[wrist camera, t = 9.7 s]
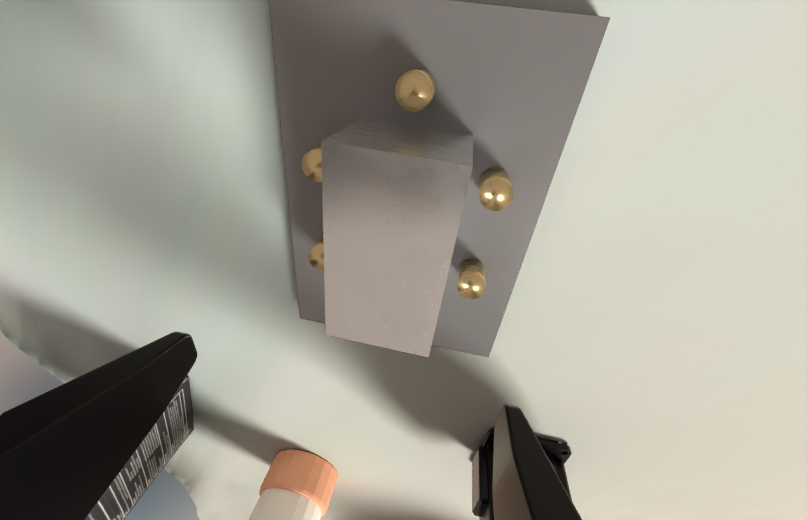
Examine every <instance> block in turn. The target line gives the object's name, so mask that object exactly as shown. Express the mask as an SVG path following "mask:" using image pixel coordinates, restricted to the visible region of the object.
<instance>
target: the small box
mask: <svg viewBox="0 0 808 520" xmlns="http://www.w3.org/2000/svg"><path fill="white" fill-rule="evenodd" d="M193 430H194V426H193V415H192V405H191V395H190V385H189V378H188V377H186V378H185V379H184V381H183V383H182V384H181V386H180V388H179V389H178V391H177V392H176V394H175V396H174V397H173V399H172V401H171V402H170V404H169V405H168V407H167V409H166V410H165V412H164V413H163V414H162V416H161V417H160V419H159V420H158V421H157V423H156V424H155V425H154V427H153V428H152V429H151V431H150V432H149V434H148V435H147V436H146V438H145V439H144V440H143V442H142V443H141V444H140V446H139V447H138V448H137V450H136V451H135V453H134V454H133V455H132V457H131V458H130V459H129V461H128V462H127V463H126V465H125V466H124V467H123V469H122V470H121V471H120V473H119V474H118V476H117V477H116V478H115V480H114V481H113V482H112V484H111V485H110V486H109V488H108V489H107V490H106V492H105V493H104V495H103V496H102V497H101V499H100V500H99V501H98V503H97V504H96V505H95V507H94V508H93V509H92V511H91V512H90V513H89V515H88V516H87V518H86V519H85V520H124V519H125V518H126V516H127V515H128V514H129V512H130V511H131V510H132V508H133V507H134V505H135V504H136V503H137V501H138V500H139V499H140V498H141V496H142V495H143V494H144V492H145V491H146V490H147V489H148V487H149V486H150V485H151V483H152V482H153V481H154V480H155V478H156V477H157V476H158V474H159V473H160V472H161V470H162V469H163V468H164V467H165V465H166V464H167V463H168V461H169V460H170V459H171V457H172V456H173V455H174V454H175V452H176V451H177V450H178V448H179V447H180V446H181V445H182V443H183V442H184V441H185V440H186V438H187V437H188V436H189V435H190V434H191V432H192V431H193Z"/></svg>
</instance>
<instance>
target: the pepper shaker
mask: <svg viewBox="0 0 808 520" xmlns="http://www.w3.org/2000/svg"><path fill="white" fill-rule="evenodd" d="M336 480H337V472H336V470H335V469H334V467H333V466H332V465H331V464H329V463H328V462H327V461H326V460H324V459H322V458H320V457H319V456H317V455H314V454H311V453H309V452H305V451H300V450H284V451H280V452H279V453H278V454H277V455H276V457H275V459H274V461H273V463H272V465H271V467H270V469H269V471H268V473H267V475H266V477H265V479H264V481H263V483H262V485H261V488H260V493H259V494H260V498H259V500H258V502H257V504H256V506H255V508H254V510H253V512H252V514H251V516H250V518H249V520H320V518H321V517H323V516H324V515H325V513H326V511H327V508H328V505H329V502H330V499H331V496H332V493H333V489H334V486H335V483H336Z"/></svg>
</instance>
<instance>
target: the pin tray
mask: <svg viewBox="0 0 808 520" xmlns="http://www.w3.org/2000/svg"><path fill="white" fill-rule="evenodd" d="M269 7H270V17H271V28H272V38H273V48H274V58H275V69H276V79H277V89H278V100H279V110H280V120H281V130H282V141H283V151H284V161H285V171H286V182H287V192H288V202H289V212H290V223H291V233H292V243H293V253H294V264H295V274H296V284H297V294H298V305H299V315H300V318H301V319H306V320H311V321H316V322H321V323H325V284H324V242H323V199H322V156H321V141H322V140H324V139H326V138H328V137H329V136H331V135H333V134H335V133H336V132H338V131H340V130H342V129H343V128H345V127H347V126H349V125H350V124H352V123H354V122H356V121H357V120H359V119H361V118H363V117H367V118H373V119H380V120H386V121H392V122H399V123H405V124H411V125H418V126H424V127H430V128H437V129H443V130H449V131H456V132H462V133H468V134H473V168H472V172H471V177H470V181H469V185H468V189H467V194H466V198H465V202H464V207H463V211H462V215H461V220H460V224H459V228H458V233H457V237H456V241H455V246H454V250H453V254H452V259H451V263H450V267H449V272H448V276H447V280H446V285H445V289H444V293H443V298H442V302H441V306H440V311H439V315H438V319H437V324H436V328H435V332H434V337H433V341H432V346H437V347H441V348H446V349H451V350H456V351H461V352H466V353H470V354H475V355H480V356H485V357H489V354H490V352H491V349H492V346H493V343H494V340H495V338H496V335H497V332H498V329H499V326H500V324H501V321H502V318H503V315H504V313H505V310H506V307H507V304H508V301H509V299H510V296H511V293H512V290H513V287H514V285H515V282H516V279H517V276H518V273H519V271H520V268H521V265H522V262H523V260H524V257H525V254H526V251H527V248H528V246H529V243H530V240H531V237H532V234H533V232H534V229H535V226H536V223H537V221H538V218H539V215H540V212H541V209H542V207H543V204H544V201H545V198H546V195H547V193H548V190H549V187H550V184H551V181H552V179H553V176H554V173H555V170H556V168H557V165H558V162H559V159H560V156H561V154H562V151H563V148H564V145H565V142H566V140H567V137H568V134H569V131H570V128H571V126H572V123H573V120H574V117H575V115H576V112H577V109H578V106H579V103H580V101H581V98H582V95H583V92H584V89H585V87H586V84H587V81H588V78H589V75H590V73H591V70H592V67H593V64H594V62H595V59H596V56H597V53H598V50H599V48H600V45H601V42H602V39H603V36H604V34H605V31H606V28H607V25H608V22H609V20H610V17H602V16H592V15H583V14H574V13H564V12H555V11H546V10H536V9H527V8H517V7H508V6H499V5H489V4H480V3H470V2H461V1H452V0H269Z"/></svg>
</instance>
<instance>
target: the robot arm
mask: <svg viewBox="0 0 808 520" xmlns="http://www.w3.org/2000/svg"><path fill="white" fill-rule="evenodd" d="M196 358H197V351H196V348H195V345H194V342H193V339H192V337H191V335H189V334H186V333H181V332H173V333H171V334H169V335H166V336H164V337H162V338H160V339H158V340H156V341H154V342H152V343H150V344H147V345H145V346H143V347H141V348H139V349H137V350H135V351H133V352H131V353H128V354H126V355H124V356H122V357H120V358H118V359H116V360H114V361H111V362H109V363H107V364H105V365H103V366H101V367H99V368H97V369H95V370H92V371H90V372H88V373H86V374H84V375H82V376H80V377H78V378H76V379H73V380H71V381H69V382H67V383H65V384H63V385H61V386H59V387H57V388H55V389H52V390H50V391H48V392H46V393H44V394H42V395H40V396H38V397H35V398H33V399H31V400H29V401H27V402H25V403H23V404H21V405H18V406H16V407H14V408H12V409H10V410H8V411H6V412H4V413H2V414H1V415H0V520H85V519H86V518H87V516H88V515H89V513H90V512H91V511H92V509H93V508H94V507H95V505H96V504H97V503H98V501H99V500H100V499H101V497H102V496H103V495H104V493H105V492H106V490H107V489H108V488H109V486H110V485H111V484H112V482H113V481H114V480H115V478H116V477H117V476H118V474H119V473H120V471H121V470H122V469H123V467H124V466H125V465H126V463H127V462H128V461H129V459H130V458H131V457H132V455H133V454H134V453H135V451H136V450H137V448H138V447H139V446H140V444H141V443H142V442H143V440H144V439H145V438H146V436H147V435H148V434H149V432H150V431H151V429H152V428H153V427H154V425H155V424H156V423H157V421H158V420H159V419H160V417H161V416H162V414H163V413H164V412H165V410H166V409H167V407H168V405H169V404H170V402H171V401H172V399H173V397H174V396H175V394H176V392H177V391H178V389H179V388H180V386H181V384H182V383H183V381H184V379H185V378H186V376H187V374H188V373H189V371H190V369H191V368H192V366H193V364H194V363H195V361H196ZM570 455H571V450H570V447H569V446H567V445H564V444H560V443H555V442H551V441H546V440H542V439H538V438H537V437H536V436H535V434H534V432H533V430H532V428H531V427H530V425H529V423H528V421H527V419H526V418H525V416H524V414H523V412H522V411H521V409H520V408H519V407H516V406H511V405H507V404H505V405H503V407H502V408H501V411H500V413H499V415H498V417H497V420H496V422H495V428H494V429H490V430H489V431H488V433H487V436H486V438H485V440H484V442H483V445H481V446H480V447H478V449H477V452H476V454H475V456H474V459H473V461H472V512H473V513H474V515H475V516H479V519H480V520H582V519H581V517H580V515H579V513H578V512H577V510H576V508H575V506H574V504H573V503H572V499H571V495H570V490H569V486H568V481H567V477H566V472H565V468H564V463H565V462H566V461H567V459H568V458H569V457H570Z"/></svg>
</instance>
